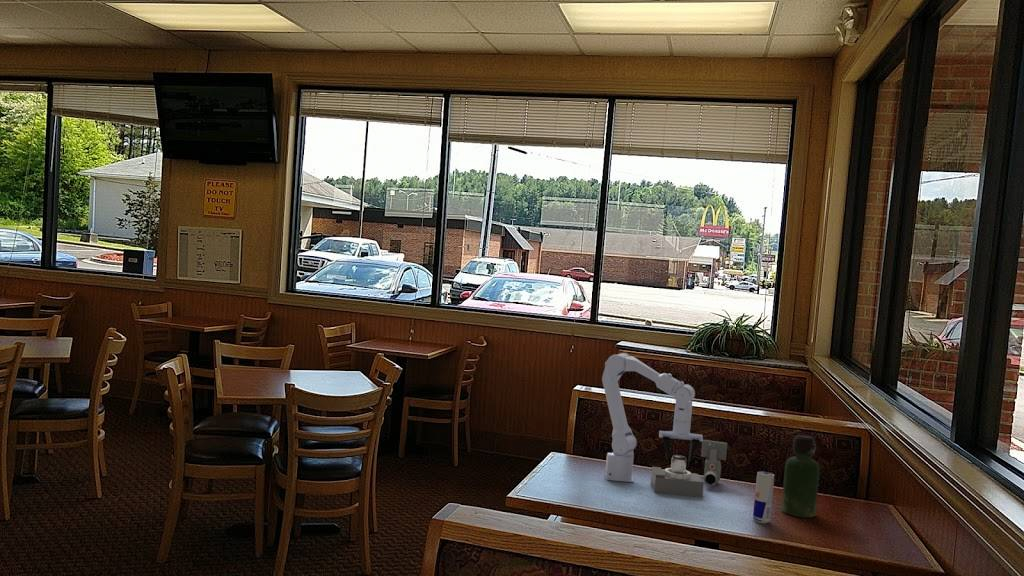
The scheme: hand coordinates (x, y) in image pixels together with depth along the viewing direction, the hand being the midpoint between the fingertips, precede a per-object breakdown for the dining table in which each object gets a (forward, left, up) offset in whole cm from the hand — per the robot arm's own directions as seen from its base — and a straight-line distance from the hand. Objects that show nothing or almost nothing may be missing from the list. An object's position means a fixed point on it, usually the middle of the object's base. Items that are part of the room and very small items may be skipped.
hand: (678, 460), depth 276 cm
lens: (0, 0, -5) cm, 5 cm away
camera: (+14, +12, -11) cm, 21 cm away
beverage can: (+22, -27, -11) cm, 36 cm away
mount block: (0, 0, -10) cm, 10 cm away
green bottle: (+37, -14, -11) cm, 41 cm away
